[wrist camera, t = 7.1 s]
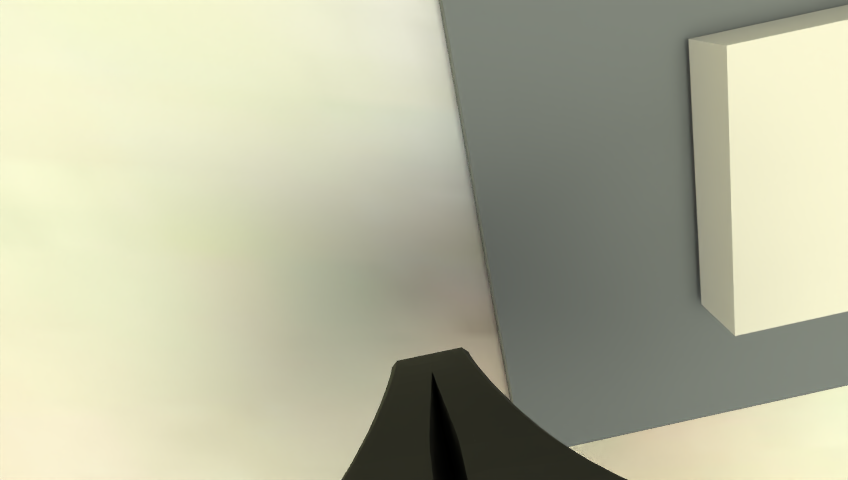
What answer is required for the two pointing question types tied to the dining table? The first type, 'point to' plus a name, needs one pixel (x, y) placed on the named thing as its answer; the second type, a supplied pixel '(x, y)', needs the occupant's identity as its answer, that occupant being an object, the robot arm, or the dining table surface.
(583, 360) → the tile mat
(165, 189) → the dining table surface
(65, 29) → the dining table surface
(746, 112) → the tile
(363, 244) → the dining table surface
